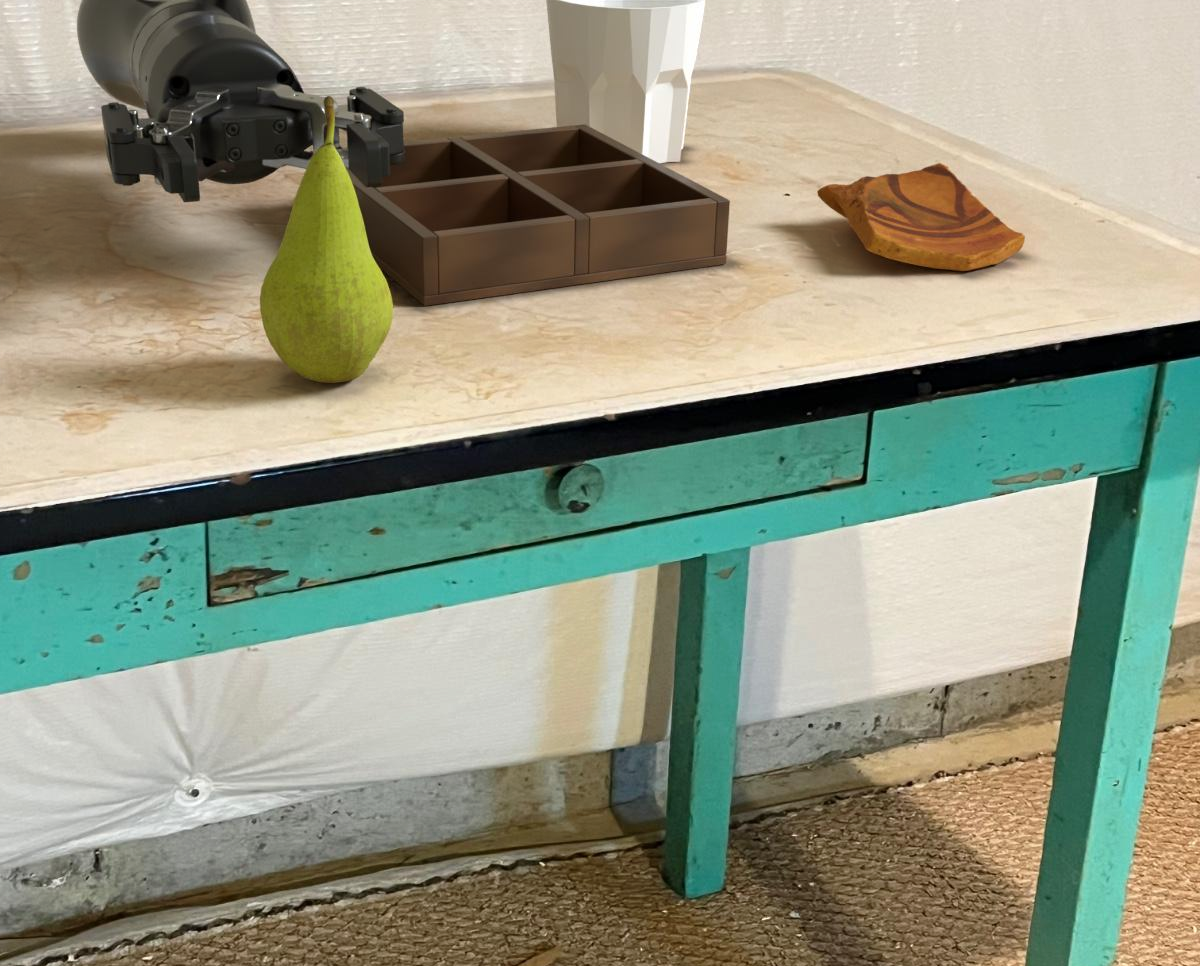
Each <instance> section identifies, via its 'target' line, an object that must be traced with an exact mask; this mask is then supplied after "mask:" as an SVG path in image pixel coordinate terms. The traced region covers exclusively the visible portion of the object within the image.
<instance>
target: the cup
mask: <svg viewBox="0 0 1200 966" xmlns="http://www.w3.org/2000/svg"><path fill="white" fill-rule="evenodd" d="M545 1H546V13H547V23H548V33H549V44H550V45H549V46H550V55H551V64H552V73H553V81H554V102H555V121H556V127H562V126H572V125H573V126H575V125H583V124H585V125H587V126H589V127H591V128H593V129H595V130H597V131H599V132H601V133H602V134H604V135H606V136H608V137H610V138H612V139H614V140H616V141H618V142H620V143H621V144H623V145H625V146H627V147H629V148H631V149H633V150H635V151H637V152H639V153H641V154H642V155H644V156H646V157H648V158H650V159H652V160H654V161H656V162H658V163H660V164H664V163H665V164H666V163H677V162H678V163H679V162H681V156H682V150H683V149H684V144H685V143H684V142H685V134H686V126H687V118H688V117H687V116H688V108H689V99H690V91H691V81H692V75H693V72H694V67H695V64H696V60H697V56H698V55H697V53H698V48H699V43H700V37H701V31H702V27H703V26H702V25H703V20H704V19H703V18H704V13H705V9H706V2H707V1H706V0H545Z"/></svg>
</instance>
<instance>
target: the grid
mask: <svg viewBox="0 0 1200 966" xmlns="http://www.w3.org/2000/svg"><path fill="white" fill-rule="evenodd" d="M341 148H342V149H344V150H347V151H348V148H347V147H341ZM404 151H405V161H404V162H402V163H398V164H396V165H391V164H390V175H389V176H384V177H382V184H381V186H377V187H365V186H364V185H363V184H362V183H361V182H360V181H359V180H358V179H357V178H356V177H355V176H354V174H353V173H352V172H351V171H350V170H349V168H347V167H345V168H346V170H347V172H348V174H349V177H350V179H351V181H352V184H353V187H354V190H355V193H356V196H357V199H358V203H359V207H360V210H361V214H362V217H363V221H364V226H365V231H366V235H367V240H368V244H369V248H370V251H371V254H372V257H373V258H374V260H375V262H376V264H377V265H378V267H379V268H380V270H381V271H382V272H384V274H386V275H387V276H388V277H390V278H391V279H392V280H393V281H394V282H396V283H397V284H398V285H399V286H401V288H403V289H404V290H405V291H406V292H407V293H409V295H411V296H412V297H413V298H415V300H417V301H418V303H421V305H423V306H424V307H427V306H428V307H429V306H435V305H440V304H441V305H442V304H448V303H456V302H462V301H469V300H477V299H484V298H491V297H500V296H505V295H506V296H507V295H513V294H519V293H526V292H527V293H528V292H533V291H534V292H535V291H541V290H550V289H556V288H565V287H571V286H577V285H584V284H592V283H598V282H606V281H612V280H614V281H615V280H619V279H621V280H622V279H628V278H635V277H641V276H642V277H643V276H649V275H657V274H664V273H671V272H678V271H684V270H691V269H692V270H693V269H698V268H705V267H713V266H720V265H726V264H727V257H728V256H727V252H728V239H729V238H728V235H729V234H728V233H729V221H730V205H731V204H730V203H731V201H730V199H729V198H726V197H724V196H723V195H720V194H718V193H717V192H715V191H713V190H712V189H709V188H707V187H706V186H703V185H701V184H700V183H698V182H695V181H694V180H692V179H690V178H689V177H686V176H685V175H683V174H680V173H679V172H677V171H675V170H673V169H672V168H669V167H667V166H666V165H663V164H662V163H658V162H656V161H654V160H652V159H650V158H648V157H646V156H644V155H642V154H641V153H639V152H637V151H635V150H633V149H631V148H629V147H627V146H625V145H623V144H621V143H620V142H618V141H616V140H614V139H612V138H610V137H608V136H606V135H604V134H602V133H601V132H599V131H597V130H595V129H593V128H591V127H589V126H587V125H585V124H583V125H575V126H573V125H572V126H562V127H557V126H553V127H542V128H532V129H522V130H521V129H520V130H512V131H501V132H492V133H491V132H489V133H481V134H471V135H462V136H461V135H460V136H452V137H441V138H439V137H438V138H431V139H430V138H429V139H419V140H411V141H410V140H409V141H404ZM309 152H313V150H310V151H309Z"/></svg>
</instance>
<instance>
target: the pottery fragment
mask: <svg viewBox="0 0 1200 966" xmlns="http://www.w3.org/2000/svg"><path fill="white" fill-rule="evenodd" d="M816 193H817V197H818V198H819V199H820V200H821V201H822V202H823V203H824V204H825V205H826V206H828V207H829V208H830V209H831V210H833V211H834V212H836V213H837V214H839V215H840V216H842V217H844V218H845V219H847V221H848V222H849V225H850V226H851V228H852V229H853V231H854V233H855V234H856V235H857V237H858V239H859V240H860V241H861V243H862V245H863V246H864V248H865V249H866V251H868V252H871V253H872V254H875V255H878V256H881V257H884V258H887V259H890V260H892V261H898V262H900V263H905V264H910V265H914V266H919V267H926V268H931V269H938V270H950V271H960V272H965V271H966V272H967V271H971V270H976V269H981V268H985V267H988V266H991V265H997V264H1001V262H1003V261H1006V260H1007V259H1009V258H1010V257H1012V256H1014V255H1015V254H1017V253H1018V252H1020V250H1021V249H1022V248H1023V246H1024V244H1025V240H1026V235H1024V233H1022V232H1018V231H1015V230H1013V229H1012V228H1010V227H1009V226H1008V225H1006V224H1005V223H1004V222H1003V221H1002V220H1001V219H1000V218H999V217H998V216H996V215H994V213H993V212H992V210H990V209H989V208H988V207H986V206H985V204H983V203H982V201H980V200H979V199H978V198H977V196H974V195H973V194H972V192H971V191H970V190H969V189H968V188H967V186H966V185H965V184H964V183H963V182H962V180H960V179H958V177H957V176H956V175H955V173H953V172H952V171H951V169H949V166H947V165H945V164H943V163H942V162H938V163H935V164H931V165H928V166H925V167H923V168H921V169H919V170H913V171H908V172H904V173H903V172H902V173H899V174H898V173H885V174H882V175H879V176H870V175H866V176H862V177H860V178H859V179H858V180H855V181H853V182H852V183H849V184H838V183H831V184H827V185H825V186H823V187H820V188H819V189H818V190H817V192H816Z"/></svg>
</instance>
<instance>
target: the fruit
mask: <svg viewBox="0 0 1200 966" xmlns="http://www.w3.org/2000/svg"><path fill="white" fill-rule="evenodd" d="M324 97H325V99H324V112H325V115H326V117H327V120H328V129H327V136H326V140H325V143H324V144H323V145H322V146H321V147H320V148H319V149H318V150H317V151H316V152H315V154H314V155H313V157H312V158H311V160H310V162H309V165H308V167H307V169H305V171H304V173H303V176H302V178H301V181H300V183H299V186H298V189H297V191H296V194H295V197H294V200H293V203H292V208H291V210H290V211H291V212H290V215H289V219H288V221H287V225H286V228H285V231H284V234H283V236H282V240H281V243H280V246H279V248H278V251H277V253H276V255H275V258H274V259H273V260H272V262H271V265H269V268H268V269H267V272H266V274H265V277H264V279H263V282H262V285H261V289H260V296H259V308H260V310H259V311H260V315H261V319H262V320H261V321H262V326H263V330H264V333H265V335H266V338H267V340H268V342H269V344H270V346H271V347H272V348H273V350H274V352H275V353H276V355H277V356H278V358H279V359H280V360H281V361H282V362H283V363H284V364H285V365H286V366H287V367H288V368H290V369H291V370H292V371H293V372H295V373H296V374H298V375H299V376H301V377H302V378H304V379H307V380H310V381H313V382H316V383H324V384H333V383H343V382H350V381H353V380H356V379H357V378H359V377H360V376H361V375H363V374H364V372H365V371H366V370H367V369H368V368H369V366H370V364H371V363H372V361H373V360H374V358H375V356H376V355H377V354H378V352H379V351H380V349H381V347H382V346H383V344H384V343H385V341H386V340H387V339H386V338H387V337H388V335H389V332H390V331H391V328H392V324H393V323H392V322H393V317H394V305H393V304H394V303H393V298H392V297H393V296H392V293H391V289H390V288H389V284H388V281H387V279H386V277H385V275H384V274H383V271H382V269H381V268H379V267H378V265H377V264H376V262H375V260H374V258H373V257H372V254H371V251H370V248H369V244H368V240H367V235H366V231H365V226H364V221H363V217H362V214H361V210H360V207H359V203H358V199H357V196H356V193H355V190H354V187H353V184H352V181H351V179H350V177H349V174H348V172H347V170H346V168H345V166H344V163H343V161H342V159H341V156H340V155H339V153H338V152H337V150H336V149H335V147H334V145H333V137H334V126H335V112H334V100H335V99H334V97H332V96H331V95H328V96H324ZM333 99H334V100H333Z"/></svg>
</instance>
